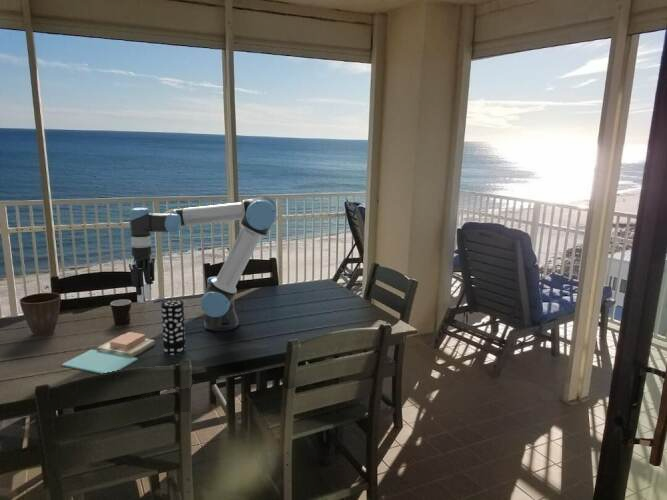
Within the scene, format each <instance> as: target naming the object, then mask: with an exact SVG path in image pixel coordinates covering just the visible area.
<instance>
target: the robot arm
mask: <svg viewBox="0 0 667 500" xmlns="http://www.w3.org/2000/svg"><path fill="white" fill-rule="evenodd" d="M276 217H277V207H276V203H275V202H274V201H273V200H272V199H271V198H269V197H267V196H257V197H255V198H253V197H252V198H248V199H243V200H242V201H240V202H232V203H231V202H230V203H223V204H222V203H220V204H214V205H213V204H211V205H203V206H202V205H201V206H192V207H184V208H175V207H174V208H169V209H168V210H166V211H165V212H161V213H153V212H151V211H150V208H147V207H134V208H131V209H130V210H129V226H130V228H129V229H130V244H131V246H132V247H131V255H132V257H133V261H132V263H129V264H128V268H129V271H130V280H131V287H133V288H135V290H136V299H137V303H145V300H152V285H153V284H154V282H155V281H156V280H155V278H156V277H155V263H156V258H154V257H151V256H152V253H153V252H152V246H151V245H152V236H151V233H155V232H156V233H157V232H158V233H178V232H180V231H181V228H182V227H183V226H192V225H193V226H194V225H202V224H211V223H221V222H232V221H241V222H240V226H241V230H240V231H239V233H238V236H237V237H236V239H235V241H234V244H233V245H232V247H231V249H230V251H229V253H228V255H227V257H226V259H225V261H224V262H223V264H222V266H221V269H220V271H219V272H218V275H217V276H216V275H215V276H210V277H209V276H208V278H207V280H206V281H207V282H206V285H207V288H206V290H205V291H204V294H203V295H202V297H201V299H200V306H201V310H202V311H203V313H204V314H206V316H205V319H204V325H203V326H204V328H205V329H207V330H209V331H213V332H225V331H231V330H233V329H235V328H237V327H238V326H239V318H238V316H237V313H236V311H235V310H236V309H235V295H236V294H237V292H238V291H237V289H238V288H237V287H236V286H237V284H238V282H239V280H240V279H241V276H242V274H243V272H244V271H245V269H246V266H247V265H248V263H249V260H250V259H251V258H252V255H253V253H254V251H255V249H256V248H257V246H258V243H259V242H260V240H261V238H263V237H266V236H267V234H268V233H269V231H270V229H271V227H272V225H274V223H275V221H276V219H277V218H276ZM143 279H144V284H143Z"/></svg>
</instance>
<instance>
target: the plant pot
mask: <svg viewBox="0 0 667 500" xmlns="http://www.w3.org/2000/svg"><path fill="white" fill-rule="evenodd" d="M61 297H62V296H61V294H60V293H57V292H42V293H41V292H40V293H33V294H28V295H26V296H23V297H21V298H20V299H19V304H20V309H21V311H22V314H23V317H24V319H25V322H26V323H27V325H28V327H29V329H30V331H31V332H32V334H33V335H34V336H35V337H46V336H50V335H53V334H54V333H55V329H56V326H57V323H58V320H59V314H60V307H61Z"/></svg>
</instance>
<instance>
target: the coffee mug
mask: <svg viewBox="0 0 667 500" xmlns="http://www.w3.org/2000/svg"><path fill="white" fill-rule="evenodd" d="M110 307H111V313H112V317H113V323H114V325H115V326H117V327H125V326H127V325H129V324H131V311H132V301H131V300H130V299H117V300H116V299H115V300H113V301H111V302H110Z"/></svg>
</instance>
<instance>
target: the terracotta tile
mask: <svg viewBox="0 0 667 500" xmlns="http://www.w3.org/2000/svg"><path fill="white" fill-rule="evenodd" d="M121 335H122V336H121ZM121 335H119V336H120V337H119V336H117V337H118V338H117V337H115V338H116V339H115V338H113V339H114V340H113V339H111V340H112V341H111V340H109V341H110V346H111V347H116V348H122V349H129V348H130V347H132V346H134V345H136V344H138V343H140V342H141V341H143V340H145V339H147V338H146V334H144V333H139V332H133V331H128V332H126V333H124V334H121Z"/></svg>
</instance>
